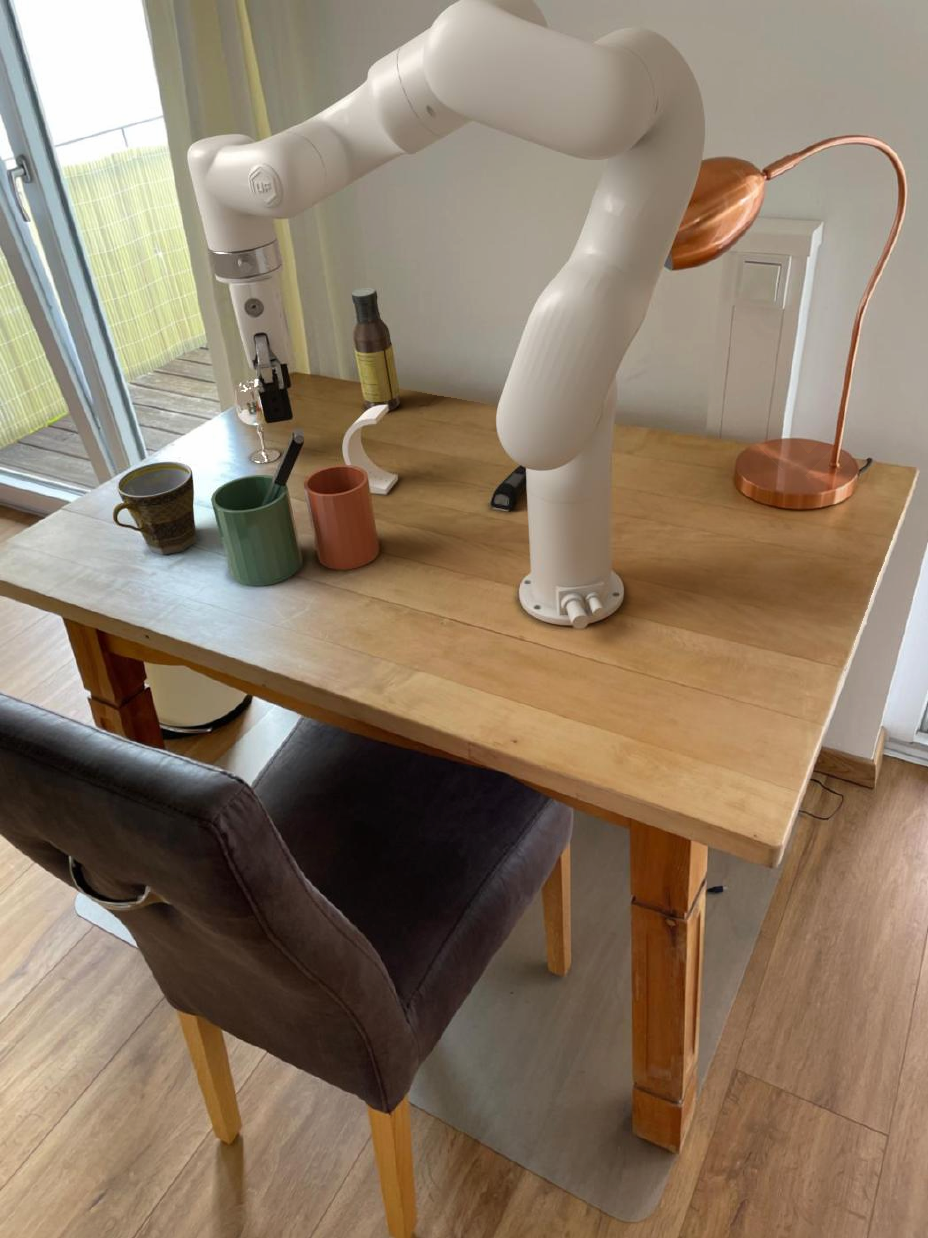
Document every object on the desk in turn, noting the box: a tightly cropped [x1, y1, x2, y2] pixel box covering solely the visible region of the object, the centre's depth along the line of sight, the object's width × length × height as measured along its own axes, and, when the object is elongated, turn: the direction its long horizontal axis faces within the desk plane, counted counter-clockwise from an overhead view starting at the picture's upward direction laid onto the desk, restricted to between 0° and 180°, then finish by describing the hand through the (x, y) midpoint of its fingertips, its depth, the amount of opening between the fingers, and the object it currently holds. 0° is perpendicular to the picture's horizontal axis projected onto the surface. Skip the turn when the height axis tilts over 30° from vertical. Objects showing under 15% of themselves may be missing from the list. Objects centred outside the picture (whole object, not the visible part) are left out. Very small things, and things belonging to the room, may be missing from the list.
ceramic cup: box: [112, 461, 197, 556], centre depth 136 cm, size 13×10×10 cm
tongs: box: [261, 427, 305, 507], centre depth 128 cm, size 2×10×18 cm, turn 100°
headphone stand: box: [341, 405, 399, 495], centre depth 146 cm, size 5×6×12 cm
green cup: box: [210, 474, 303, 587], centre depth 130 cm, size 10×10×11 cm
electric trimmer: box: [490, 465, 527, 512], centre depth 145 cm, size 4×16×3 cm, turn 153°
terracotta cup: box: [303, 464, 380, 571], centre depth 131 cm, size 8×8×11 cm
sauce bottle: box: [351, 287, 401, 412], centre depth 166 cm, size 6×6×20 cm
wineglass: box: [234, 378, 281, 464], centre depth 156 cm, size 6×6×12 cm
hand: (279, 404), depth 121 cm, fingers open, 9 cm apart
